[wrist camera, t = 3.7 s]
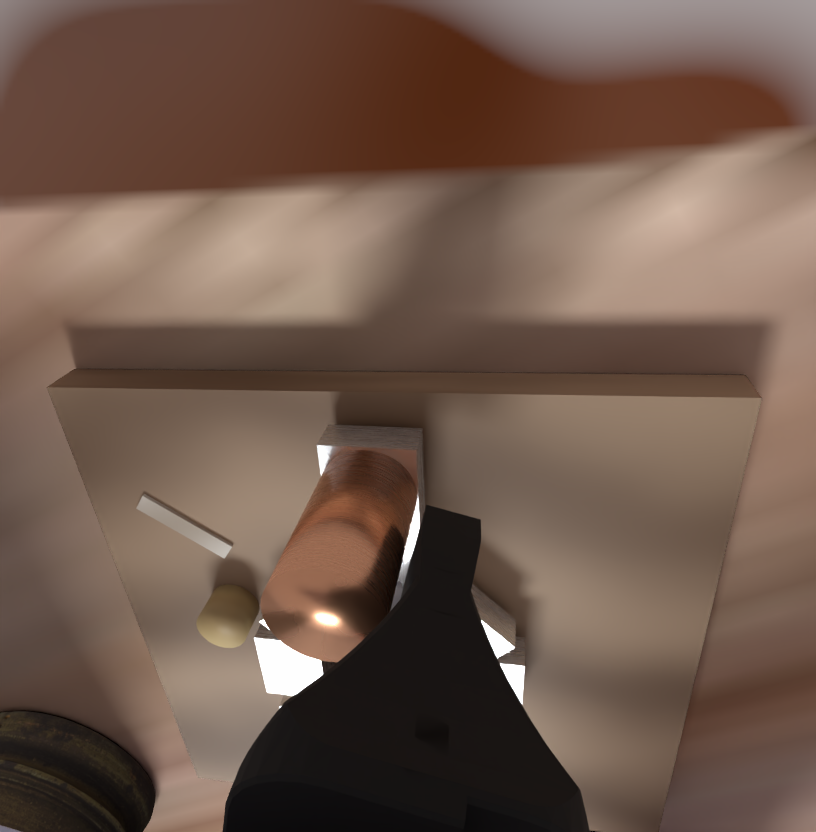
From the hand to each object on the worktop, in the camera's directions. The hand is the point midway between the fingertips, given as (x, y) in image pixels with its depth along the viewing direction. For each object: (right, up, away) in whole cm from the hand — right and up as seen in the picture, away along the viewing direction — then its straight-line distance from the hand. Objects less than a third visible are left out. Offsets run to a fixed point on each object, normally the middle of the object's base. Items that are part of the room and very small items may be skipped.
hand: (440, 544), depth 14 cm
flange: (-1, -3, +5) cm, 5 cm away
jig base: (-1, -4, +7) cm, 8 cm away
